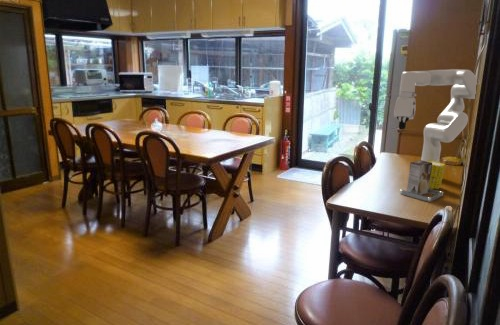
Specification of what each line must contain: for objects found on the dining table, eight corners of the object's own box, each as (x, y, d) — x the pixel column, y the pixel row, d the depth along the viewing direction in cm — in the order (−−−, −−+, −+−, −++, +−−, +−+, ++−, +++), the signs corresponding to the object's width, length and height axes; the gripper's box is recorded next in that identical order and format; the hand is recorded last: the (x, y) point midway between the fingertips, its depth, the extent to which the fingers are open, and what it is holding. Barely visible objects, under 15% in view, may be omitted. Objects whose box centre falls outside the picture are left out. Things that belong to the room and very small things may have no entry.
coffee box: (416, 189, 193) (421, 160, 189) (428, 193, 188) (433, 162, 184) (405, 192, 189) (410, 161, 185) (417, 196, 183) (422, 164, 179)
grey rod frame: (413, 188, 196) (414, 184, 195) (443, 195, 185) (443, 191, 184) (399, 193, 186) (400, 189, 185) (429, 202, 175) (430, 198, 174)
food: (431, 187, 204) (442, 193, 195) (412, 182, 202) (423, 189, 192) (442, 161, 200) (454, 167, 191) (423, 156, 198) (434, 162, 188)
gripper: (423, 96, 195) (418, 130, 200) (396, 94, 206) (392, 126, 210) (417, 96, 190) (411, 131, 195) (389, 94, 201) (385, 127, 205)
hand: (401, 129), depth 203 cm, fingers closed
